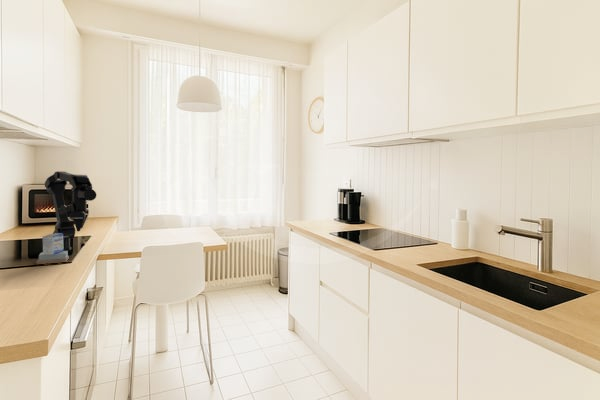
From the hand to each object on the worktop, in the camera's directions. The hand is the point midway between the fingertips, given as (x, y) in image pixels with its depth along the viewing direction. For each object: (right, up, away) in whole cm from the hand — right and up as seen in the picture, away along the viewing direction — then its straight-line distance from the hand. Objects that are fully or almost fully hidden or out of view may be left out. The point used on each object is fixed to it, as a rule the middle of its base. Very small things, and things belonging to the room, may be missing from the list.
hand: (79, 229), depth 166 cm
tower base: (-3, -15, -14) cm, 20 cm away
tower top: (-3, -12, -14) cm, 19 cm away
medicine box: (-2, -10, -14) cm, 17 cm away
